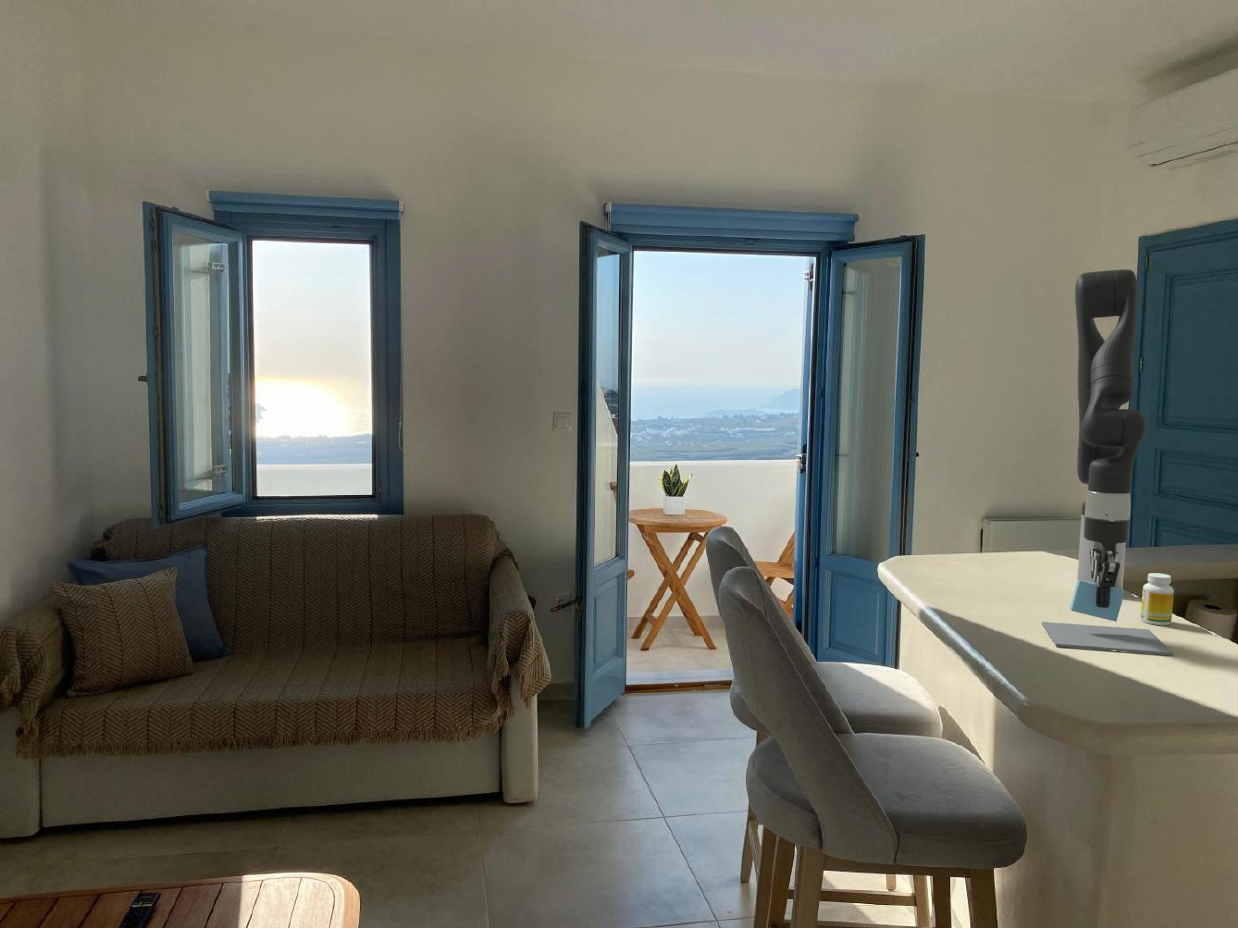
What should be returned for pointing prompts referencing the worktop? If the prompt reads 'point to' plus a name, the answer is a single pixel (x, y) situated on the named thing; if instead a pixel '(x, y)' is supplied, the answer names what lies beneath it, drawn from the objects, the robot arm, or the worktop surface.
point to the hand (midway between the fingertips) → (1101, 605)
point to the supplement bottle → (1157, 600)
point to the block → (1087, 601)
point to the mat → (1105, 638)
